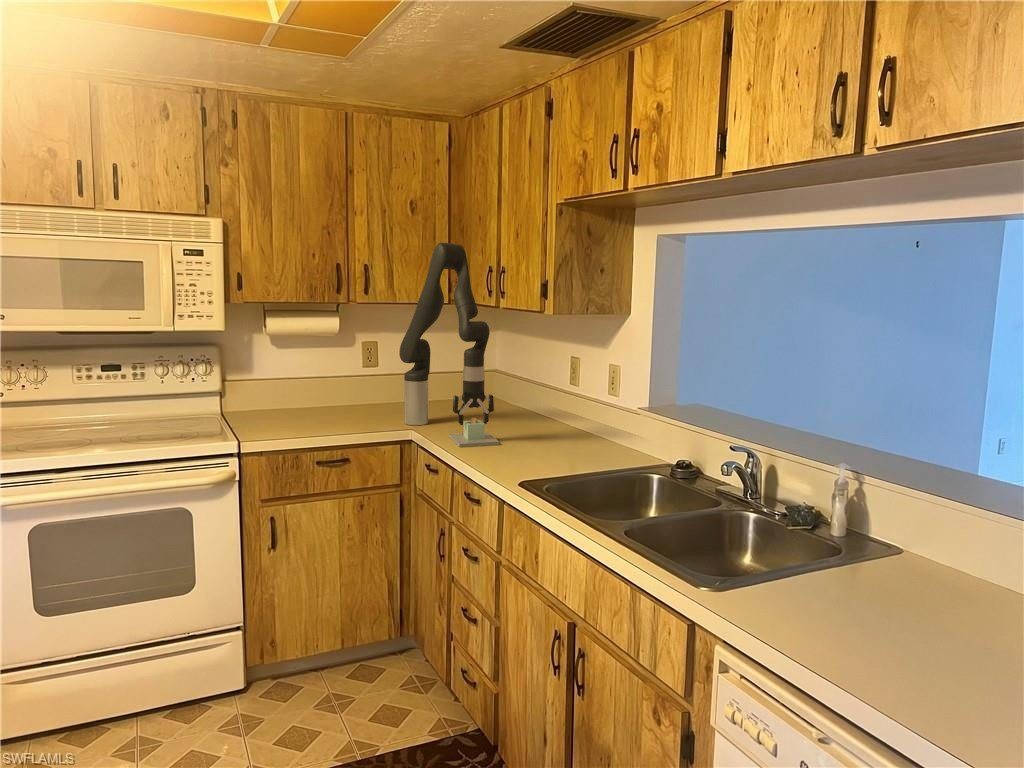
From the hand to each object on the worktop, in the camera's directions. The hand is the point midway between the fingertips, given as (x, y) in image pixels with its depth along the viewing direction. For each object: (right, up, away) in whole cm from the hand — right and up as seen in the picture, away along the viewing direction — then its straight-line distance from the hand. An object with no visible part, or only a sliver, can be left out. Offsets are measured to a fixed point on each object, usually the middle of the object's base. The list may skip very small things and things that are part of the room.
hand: (473, 424), depth 259 cm
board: (0, -6, +1) cm, 6 cm away
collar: (0, -5, +1) cm, 5 cm away
